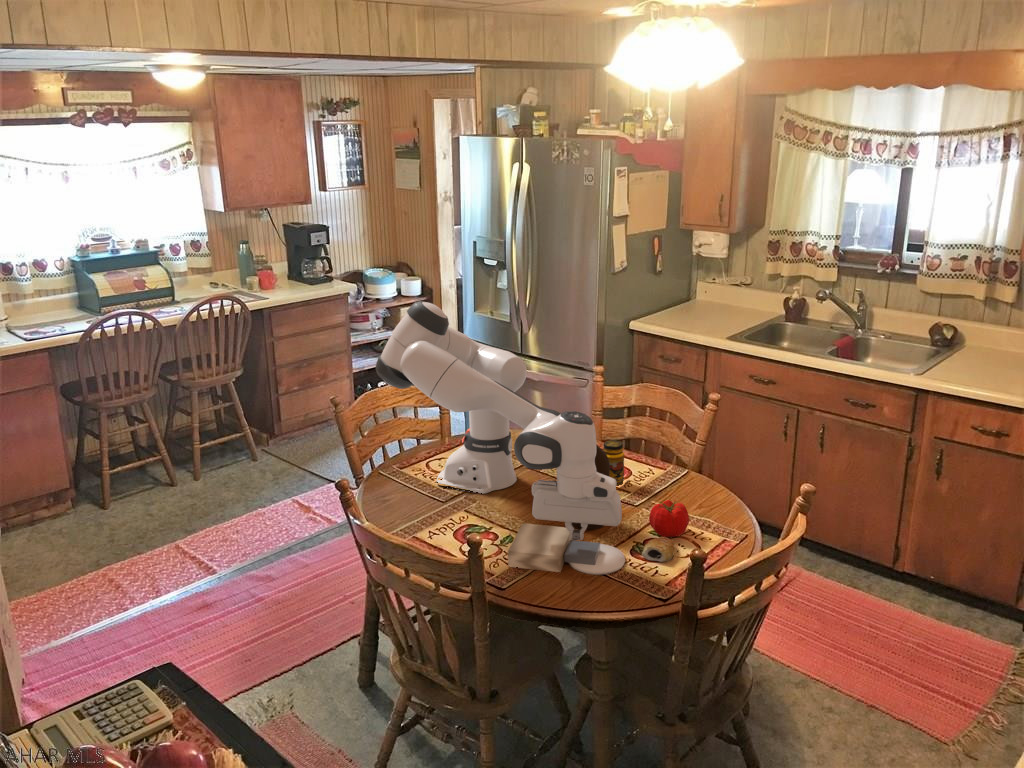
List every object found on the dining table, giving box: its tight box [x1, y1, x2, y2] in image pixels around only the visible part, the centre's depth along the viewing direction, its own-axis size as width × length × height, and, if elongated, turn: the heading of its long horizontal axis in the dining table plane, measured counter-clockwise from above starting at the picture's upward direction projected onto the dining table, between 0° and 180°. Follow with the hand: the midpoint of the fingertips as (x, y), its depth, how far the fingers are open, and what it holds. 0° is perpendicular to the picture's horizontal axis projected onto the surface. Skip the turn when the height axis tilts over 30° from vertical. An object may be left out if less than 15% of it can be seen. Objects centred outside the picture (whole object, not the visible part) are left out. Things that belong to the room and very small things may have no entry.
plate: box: [568, 543, 626, 576], centre depth 192 cm, size 13×13×1 cm
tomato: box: [648, 499, 690, 538], centre depth 203 cm, size 9×9×8 cm
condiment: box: [602, 440, 625, 486], centre depth 232 cm, size 7×8×12 cm
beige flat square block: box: [507, 523, 573, 573], centre depth 195 cm, size 12×14×4 cm
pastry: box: [641, 536, 676, 563], centre depth 194 cm, size 9×7×4 cm
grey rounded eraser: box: [564, 539, 601, 565], centre depth 192 cm, size 7×7×2 cm
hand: (576, 538), depth 192 cm, fingers closed
